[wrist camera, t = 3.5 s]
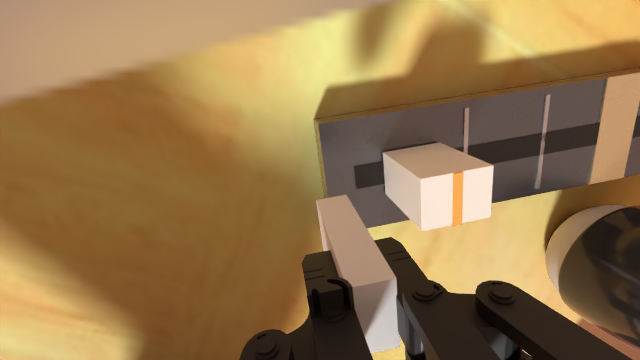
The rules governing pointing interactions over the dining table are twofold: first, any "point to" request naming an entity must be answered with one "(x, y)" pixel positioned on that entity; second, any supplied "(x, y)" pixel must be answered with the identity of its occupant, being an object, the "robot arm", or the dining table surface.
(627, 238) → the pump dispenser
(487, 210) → the fader knob
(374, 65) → the dining table surface
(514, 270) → the dining table surface
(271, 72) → the dining table surface
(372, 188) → the console
